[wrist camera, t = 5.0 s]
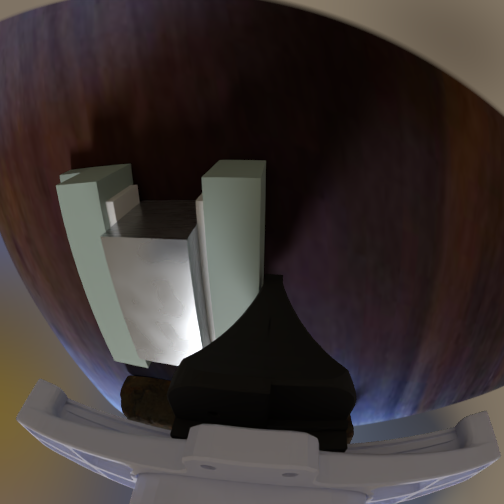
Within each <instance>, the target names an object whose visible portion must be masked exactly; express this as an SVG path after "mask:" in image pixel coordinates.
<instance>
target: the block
mask: <svg viewBox="0 0 504 504" xmlns="http://www.w3.org/2000/svg"><path fill="white" fill-rule="evenodd" d="M195 201H196V200H142V201H141V202H140V203H139V204H138V205H136V206H135V207H134V208H133V209H131V210H130V211H129V212H128V213H127V214H125V215H124V216H123V217H122V218H121V219H120V220H118V221H117V222H116V223H115V224H114V225H113V226H111V227H110V228H109V229H108V230H107V231H106V232H105V233H104V234H102V235H101V236H100V238H101V242H102V246H103V250H104V254H105V257H106V261H107V265H108V268H109V272H110V276H111V279H112V282H113V286H114V289H115V292H116V295H117V298H118V302H119V305H120V308H121V311H122V314H123V316H124V319H125V322H126V325H127V328H128V330H129V333H130V336H131V338H132V341H133V344H134V346H135V349H136V351H137V354H138V356H139V359H143V360H148V361H153V362H158V363H164V364H170V365H176V366H179V364H180V363H181V361H182V360H183V359H184V358H186V357H188V356H190V355H192V354H194V353H195V352H197V351H199V350H201V349H202V348H204V347H206V346H207V345H208V344H210V343H211V342H210V334H209V327H208V319H207V312H206V303H205V295H204V286H203V278H202V268H201V259H200V248H199V238H198V227H197V215H196V202H195Z"/></svg>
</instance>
